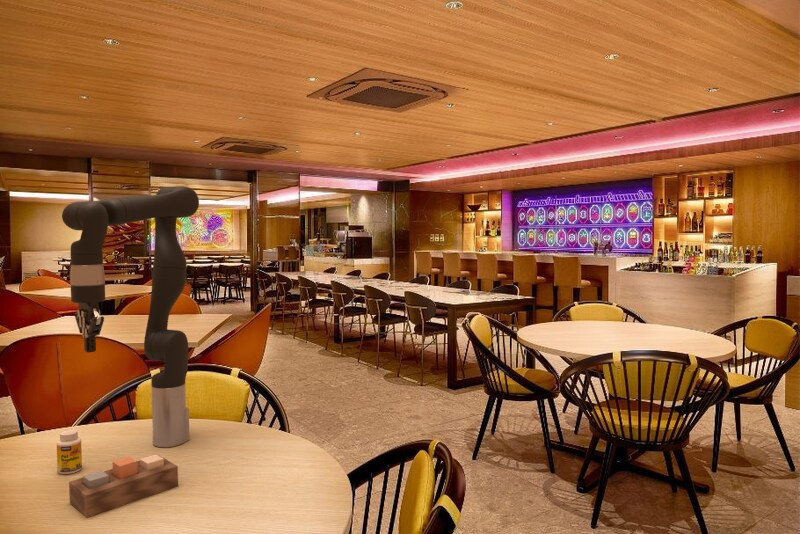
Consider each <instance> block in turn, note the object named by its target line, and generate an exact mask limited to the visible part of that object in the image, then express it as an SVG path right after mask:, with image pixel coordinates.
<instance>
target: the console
mask: <svg viewBox="0 0 800 534" xmlns="http://www.w3.org/2000/svg"><path fill="white" fill-rule="evenodd" d="M157 455H158V456H160V457H162V458H163V459H164V466H161V467H158V468H155V469H152V470H148V471H146V470H145V469H143V468H142V467H140V460H136V461H137V474H136V475H132V476H129V477H126V478H123V479H120V480H119V479H118V478H116V477H115V476H113V468H110V469H107V470H104V471H103V470H102V471H103V472H104V473H106V474H107V475H109V483H107V484H104V485H101V486H98V487H94V488H91V489H89V488H87V487H86V486H85V485H83V477H81V478H77V479H74V480H70V481H69V482H68V494H69V495H68V496H69V504H70V505H72V506H73V508H75V509H76V510H77V511H78V512H79V513H81V514H82V515H83V517H85V518H89V517H93V516H96V515H98V514H102V513H103V512H107V511H110V510H113V509H116V508H119V507H122V506H124V505H127V504H129V503H133V502H136V501H139V500H141V499H144V498H149V496H153V495H156V494H159V493H161V492H164V491H168V490H171V489H173V488H177V487H179V468H178V465H177V464H175V463H173V462H172V461H169V460H168V459H166V458H164V457H163V456H161V455H159V454H157Z"/></svg>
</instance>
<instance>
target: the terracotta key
mask: <svg viewBox="0 0 800 534" xmlns="http://www.w3.org/2000/svg"><path fill="white" fill-rule="evenodd" d="M137 461H138V460H136V459H134V458H133V457H131V456H127V457H123V458H120V459H117V460H114V461H112V469H113V476H115V477H116V478H118V479H119V480H120V479H123V478H126V477H129V476H132V475H136V474H137Z"/></svg>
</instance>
